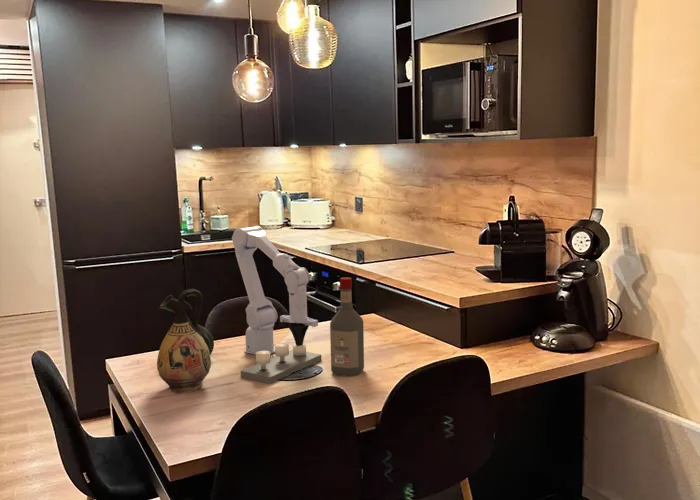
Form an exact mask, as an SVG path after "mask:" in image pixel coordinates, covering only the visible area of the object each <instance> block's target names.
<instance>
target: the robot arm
mask: <svg viewBox="0 0 700 500" xmlns="http://www.w3.org/2000/svg"><path fill="white" fill-rule="evenodd" d="M231 240H232V244H233V247H234V251H235V257H236V260H237V264H238V268H239V270H240V274H241V277H242V280H243V284H244V286H245V287H244V288H245V290H246V293H247V297H248V301H249V303H248V304H247V307H246V308H245V313H246V323H247V325H248V327H247V328H246V329H245V330H246V331H245V350H244V353H248V354H252V355H255V356H256V352H258V351H269V352H270V355H271V354H275V345H274V326H275V323H276V322H277V320H278V312H277V309H276V308H275V307H274V305H273V303H272V301H271V300H269V299H267V298H266V296H265V293H264V289H263V287H262V283H261V279H260V277H259V272H258V271H257V265H256V262H255V260H254V257H253V255H254V253H255V251H256V250H257V249H259V250H260V251H261V252H263V253H264V254H265V255H266V256H267V257H268V258H269V259H270V260H272V266H273V267H274V268H275V270H277V271H278V272H279V273H280V275H281V276H282V277H283V279H284V283H285V284H286V287H287V292H288V302H289V303H288V304H289V315H288V314H287V315H286V314H283V315H280V316H279V322H280V323H290V324H288V329H289V331H290V332H291V334H292V337H293V339H294V344H296V346H301V345H303V343H304V341H305V336H306V333H307V331H308V329H309V327H312V328H317V327H318V326H319V320H318V319H314V318H311V317H308V299H307V285H308V284H309V282H310V281H311V280H310V279H311V277H310V272H309V271H308V269H307V268H306V267H302V266H301V267H300V266H299V265H298V264H296V263H295V262H294V261H293V259H291V257H290V255H288V254H287V253H281V252H280V251H279V250H278V249H277V248H276V247H275V245H274V244H273V243H272V242H271V240H270V239H269V238H268V237H267V233H266V230H264V229H263V228H262V227H261V226H260V225H255V226H250V227H242V228H241V227H238V228H236V229H235V230H234V232H233V234H232V236H231Z"/></svg>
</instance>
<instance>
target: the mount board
mask: <svg viewBox="0 0 700 500" xmlns="http://www.w3.org/2000/svg"><path fill="white" fill-rule="evenodd" d="M321 361H322V354H319V353H314V352H309V351H306V354H305V355H302V356H296V355H293V348H292V349H289V355H288V356H285V361H280V357H279V356H276V355H275V356H273V357H270V363H268V364H266V369H261V364H257V363H256V364H253V365H251V366H248V367H245V368H244V369H241V370H240V378H245V379H249V380H254V381H257V382H261V383H266V384H270V385H271V384H273V383H275V382H277V381H279V380H281V379H280V378H282V379H283V377H284V378H286V377H288V376H290V375H292V374H291V373H293V372H295V373H297V372H299V371H301V370H303V368H304V369H306V368H308V367H310V366H312V365H314V364H317V363H319V362H321ZM305 367H306V368H305ZM298 370H299V371H298ZM296 371H297V372H296ZM289 374H290V375H289ZM293 374H294V373H293ZM287 375H288V376H287ZM285 376H286V377H285Z"/></svg>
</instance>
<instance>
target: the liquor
mask: <svg viewBox="0 0 700 500" xmlns="http://www.w3.org/2000/svg"><path fill="white" fill-rule="evenodd" d="M352 279H353V278H352V277H348V276H346V277H344V276H343V277H340V278H339V288H340V307H339V310H338V311H337V312H336V313H335V315H334V316H333V317H332V318H331V320H330V323H329V333H330V334H329V336H330V337H329V338H330V370H331V372H332V374H334V375H335V376H339V377H348V378H352V377H357V376H359V375H360V374H361V373H362V372H363V371H364V369H365V341H364V340H365V337H364V334H365V333H364V319H363V318H362V316H361V315H360V314H359V313H358V312H357V311H356V310H355V309H354V306H353V301H352V299H353V298H352V296H353V295H352V288H353V282H352V281H353V280H352Z"/></svg>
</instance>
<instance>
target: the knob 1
mask: <svg viewBox="0 0 700 500" xmlns="http://www.w3.org/2000/svg"><path fill="white" fill-rule="evenodd" d="M270 358H271V354H270V352H269V351H258V352H256V355H255V363H256V364H261V369H266V364H268V363H270Z"/></svg>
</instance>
